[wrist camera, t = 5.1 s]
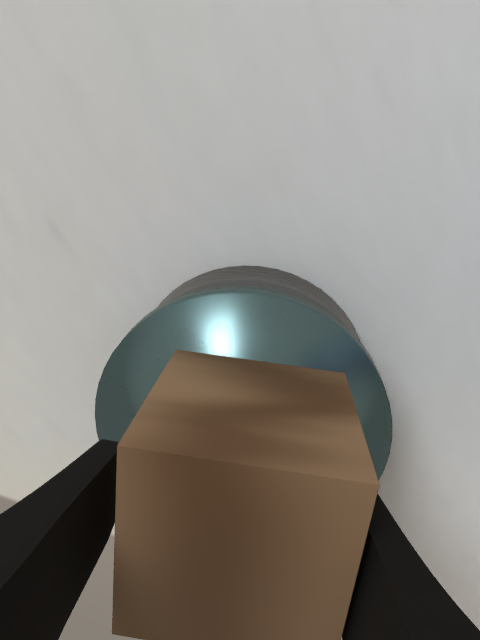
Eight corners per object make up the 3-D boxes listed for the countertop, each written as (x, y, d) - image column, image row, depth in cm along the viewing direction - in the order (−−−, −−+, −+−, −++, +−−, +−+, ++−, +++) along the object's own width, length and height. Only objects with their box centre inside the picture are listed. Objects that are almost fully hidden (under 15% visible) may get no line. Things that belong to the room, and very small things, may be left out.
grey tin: (393, 274, 16) (425, 314, 12) (347, 484, 19) (360, 564, 16) (134, 246, 17) (89, 276, 13) (134, 455, 20) (99, 525, 16)
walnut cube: (344, 372, 13) (379, 484, 8) (316, 511, 15) (332, 672, 10) (175, 349, 13) (117, 445, 9) (166, 488, 15) (112, 634, 10)
